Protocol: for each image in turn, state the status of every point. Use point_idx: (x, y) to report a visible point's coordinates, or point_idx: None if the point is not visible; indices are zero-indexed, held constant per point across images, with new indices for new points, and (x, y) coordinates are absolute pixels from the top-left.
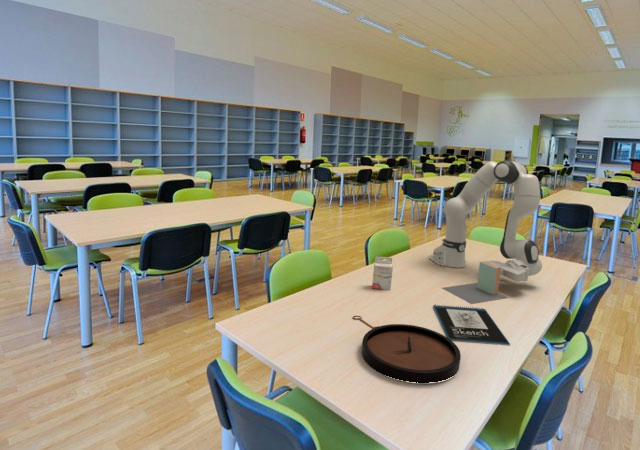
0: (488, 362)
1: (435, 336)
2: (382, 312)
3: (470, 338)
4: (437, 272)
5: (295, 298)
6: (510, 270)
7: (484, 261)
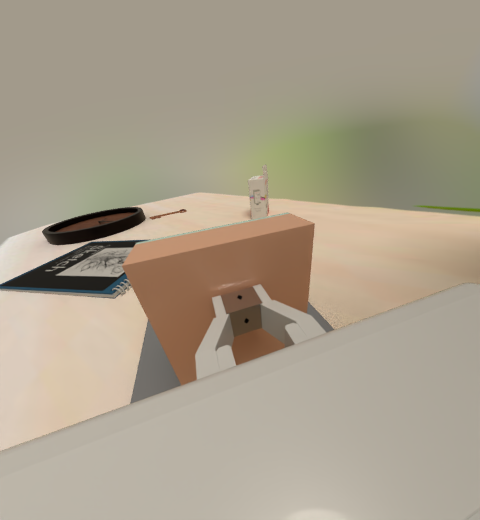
0: (21, 260)
1: (100, 232)
2: (186, 218)
3: (67, 255)
4: (432, 269)
5: (231, 196)
6: (68, 464)
7: (305, 222)
